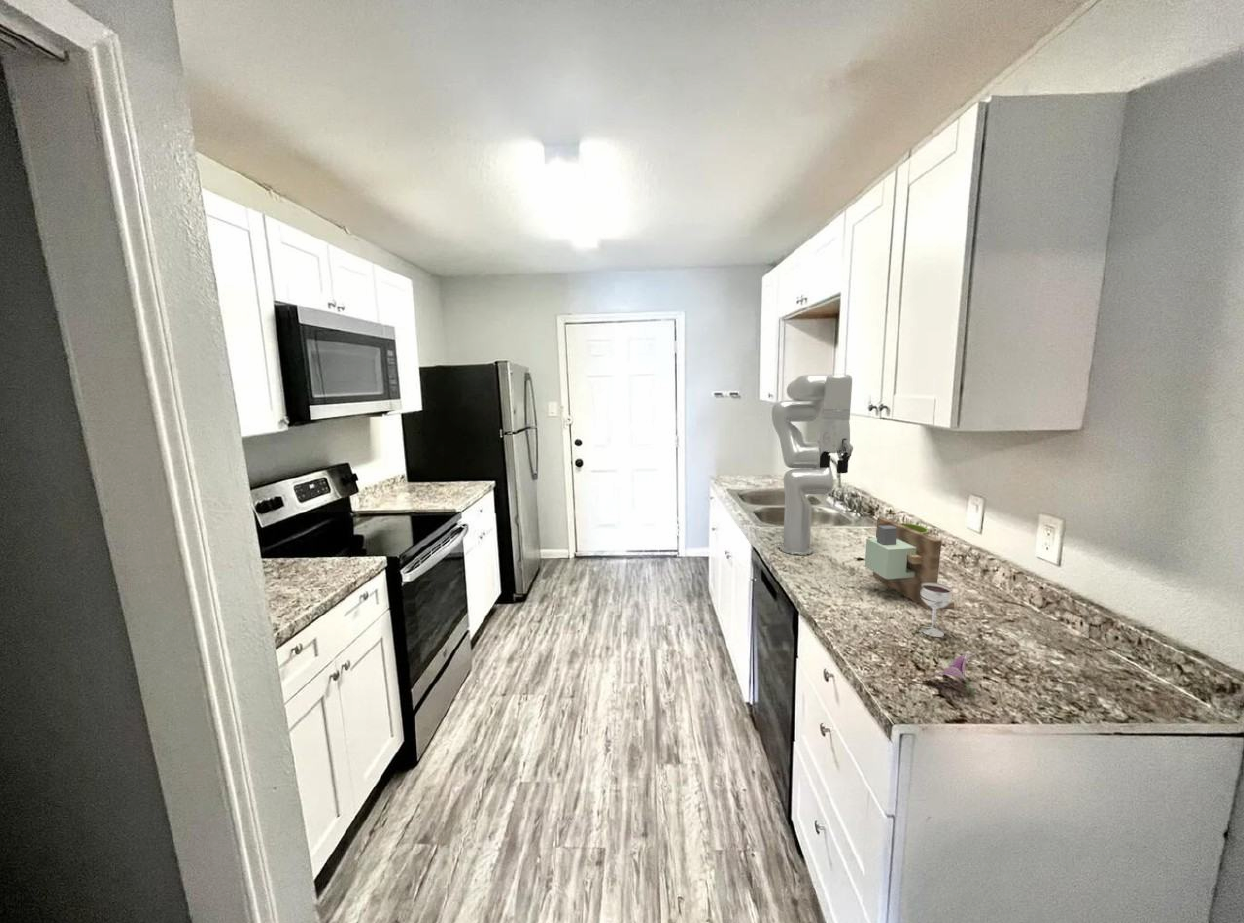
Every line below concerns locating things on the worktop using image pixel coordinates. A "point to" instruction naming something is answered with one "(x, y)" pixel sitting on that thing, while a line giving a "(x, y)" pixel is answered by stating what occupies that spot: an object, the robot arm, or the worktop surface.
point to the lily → (957, 668)
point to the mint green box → (888, 554)
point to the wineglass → (935, 602)
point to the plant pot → (915, 527)
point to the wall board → (915, 562)
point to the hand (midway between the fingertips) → (833, 470)
